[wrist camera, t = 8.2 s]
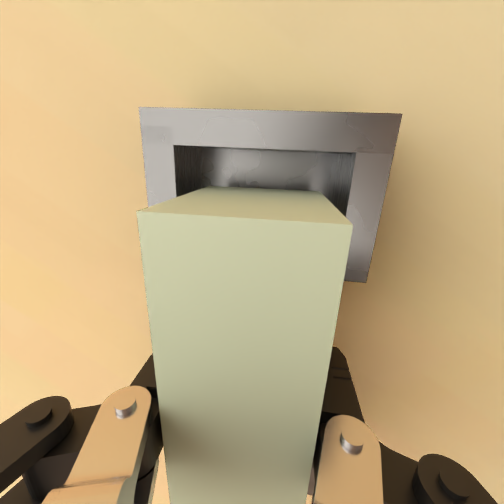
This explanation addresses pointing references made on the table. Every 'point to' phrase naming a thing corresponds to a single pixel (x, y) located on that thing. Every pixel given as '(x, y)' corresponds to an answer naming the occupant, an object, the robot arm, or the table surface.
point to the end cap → (277, 160)
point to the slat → (242, 336)
